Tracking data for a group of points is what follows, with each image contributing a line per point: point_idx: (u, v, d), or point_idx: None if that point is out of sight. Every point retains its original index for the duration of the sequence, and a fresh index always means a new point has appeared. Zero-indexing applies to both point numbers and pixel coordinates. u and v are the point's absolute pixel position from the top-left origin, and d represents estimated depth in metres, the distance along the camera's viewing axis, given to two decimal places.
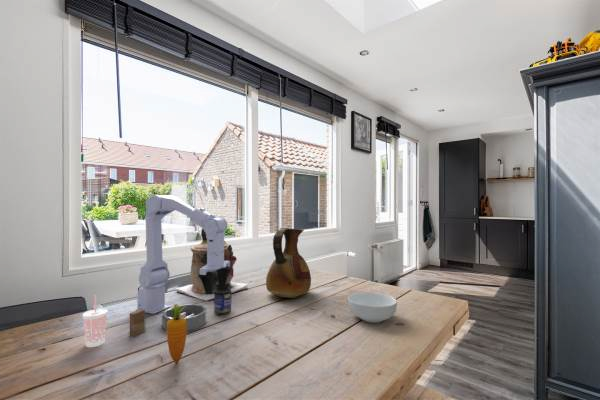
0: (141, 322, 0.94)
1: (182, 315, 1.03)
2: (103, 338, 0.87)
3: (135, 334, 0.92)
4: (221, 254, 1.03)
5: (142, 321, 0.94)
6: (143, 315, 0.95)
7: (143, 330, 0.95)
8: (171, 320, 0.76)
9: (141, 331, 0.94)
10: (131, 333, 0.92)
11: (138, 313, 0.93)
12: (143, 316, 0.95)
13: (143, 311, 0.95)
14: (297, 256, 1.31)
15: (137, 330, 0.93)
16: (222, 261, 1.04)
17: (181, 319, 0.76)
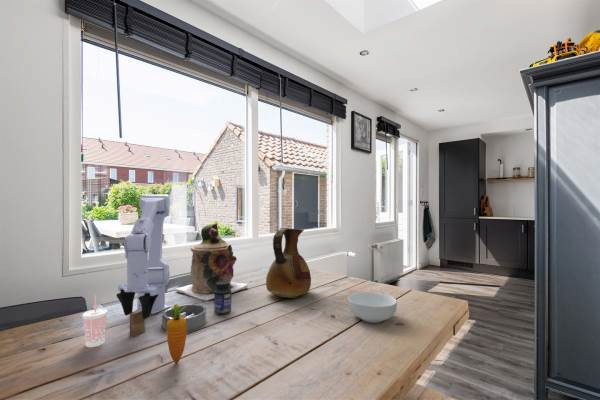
0: (141, 322, 0.94)
1: (182, 315, 1.03)
2: (103, 338, 0.87)
3: (135, 334, 0.92)
4: (128, 276, 0.91)
5: (142, 321, 0.94)
6: None
7: (143, 330, 0.95)
8: (171, 320, 0.76)
9: (141, 331, 0.94)
10: (131, 333, 0.92)
11: (138, 313, 0.93)
12: None
13: None
14: (297, 256, 1.31)
15: (137, 330, 0.93)
16: (129, 284, 0.91)
17: (181, 319, 0.76)
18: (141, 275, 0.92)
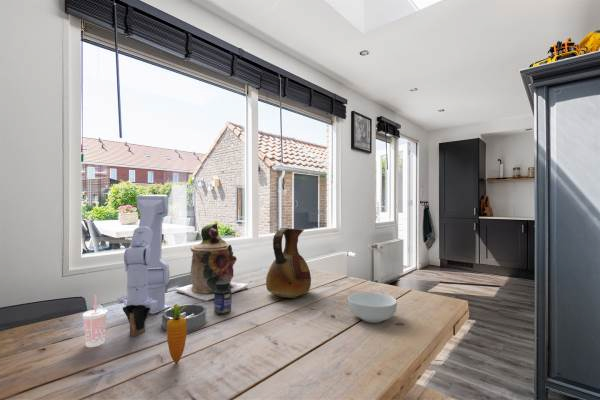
0: None
1: (182, 315, 1.03)
2: (103, 338, 0.87)
3: (135, 334, 0.92)
4: (128, 289, 0.91)
5: None
6: None
7: (143, 330, 0.95)
8: (171, 320, 0.76)
9: (141, 331, 0.94)
10: (131, 333, 0.92)
11: None
12: None
13: None
14: (297, 256, 1.31)
15: (137, 330, 0.93)
16: (129, 297, 0.91)
17: (181, 319, 0.76)
18: (141, 288, 0.92)
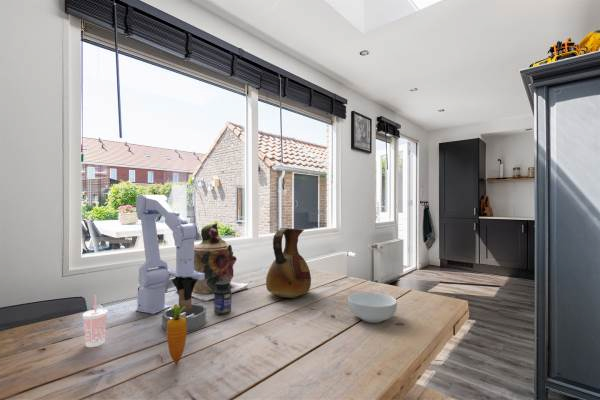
0: None
1: (182, 315, 1.03)
2: (103, 338, 0.87)
3: (184, 309, 1.00)
4: (178, 262, 1.00)
5: None
6: None
7: (190, 306, 1.03)
8: (171, 320, 0.76)
9: (188, 307, 1.02)
10: (180, 308, 1.00)
11: None
12: None
13: None
14: (297, 256, 1.31)
15: (185, 305, 1.01)
16: (179, 270, 0.99)
17: (181, 319, 0.76)
18: (189, 261, 1.00)
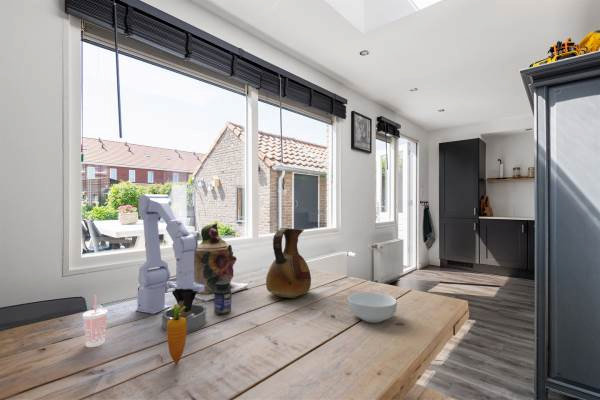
0: None
1: None
2: (103, 338, 0.87)
3: None
4: (178, 274, 1.00)
5: None
6: None
7: None
8: (171, 320, 0.76)
9: None
10: None
11: None
12: None
13: None
14: (297, 256, 1.31)
15: None
16: (179, 282, 0.99)
17: (181, 319, 0.76)
18: (189, 273, 1.00)
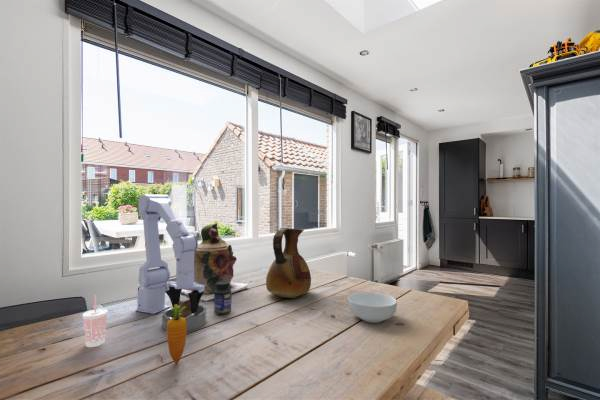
0: (188, 310, 1.02)
1: None
2: (103, 338, 0.87)
3: None
4: (178, 274, 1.00)
5: (189, 309, 1.03)
6: (190, 303, 1.03)
7: None
8: (171, 320, 0.76)
9: None
10: None
11: (186, 301, 1.01)
12: (190, 304, 1.03)
13: None
14: (297, 256, 1.31)
15: None
16: (179, 282, 0.99)
17: (181, 319, 0.76)
18: (189, 273, 1.00)
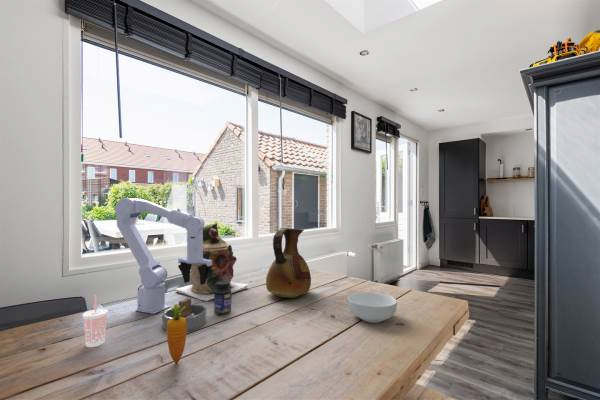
0: (188, 310, 1.02)
1: None
2: (103, 338, 0.87)
3: None
4: (188, 250, 1.13)
5: (189, 309, 1.03)
6: (190, 303, 1.03)
7: None
8: (171, 320, 0.76)
9: None
10: None
11: (186, 301, 1.01)
12: (190, 304, 1.03)
13: (190, 300, 1.03)
14: (297, 256, 1.31)
15: None
16: (189, 257, 1.13)
17: (181, 319, 0.76)
18: (199, 250, 1.14)
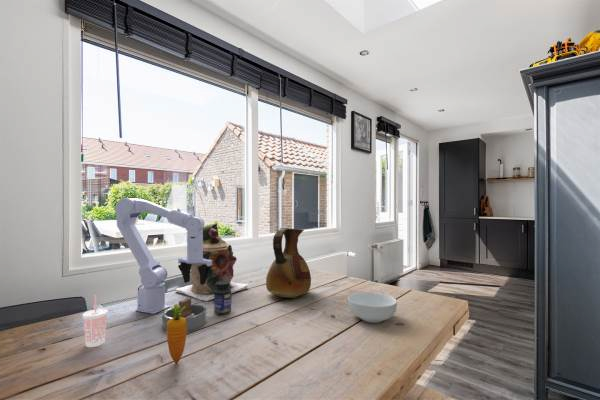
0: (188, 310, 1.02)
1: None
2: (103, 338, 0.87)
3: None
4: (188, 250, 1.13)
5: (189, 309, 1.03)
6: (190, 303, 1.03)
7: None
8: (171, 320, 0.76)
9: None
10: None
11: (186, 301, 1.01)
12: (190, 304, 1.03)
13: (190, 300, 1.03)
14: (297, 256, 1.31)
15: None
16: (189, 257, 1.13)
17: (181, 319, 0.76)
18: (199, 250, 1.14)
